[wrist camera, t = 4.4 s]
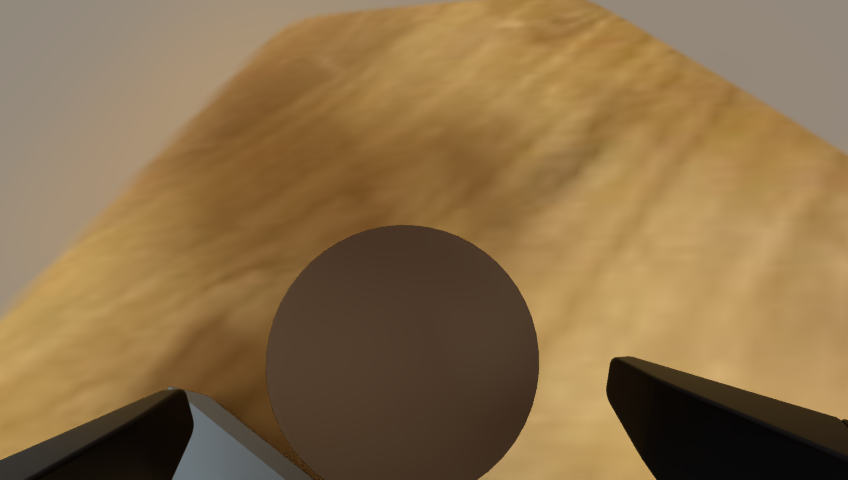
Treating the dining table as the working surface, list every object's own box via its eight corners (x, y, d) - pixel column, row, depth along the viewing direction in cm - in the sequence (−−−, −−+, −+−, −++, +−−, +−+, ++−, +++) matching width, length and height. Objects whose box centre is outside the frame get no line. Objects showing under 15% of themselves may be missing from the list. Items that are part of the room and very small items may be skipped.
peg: (419, 485, 16) (450, 579, 5) (336, 423, 16) (204, 385, 6) (471, 392, 17) (581, 306, 6) (393, 339, 18) (373, 186, 7)
